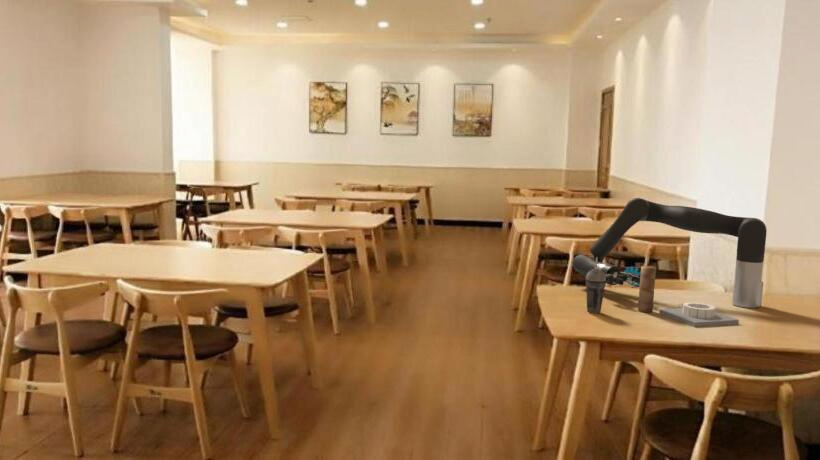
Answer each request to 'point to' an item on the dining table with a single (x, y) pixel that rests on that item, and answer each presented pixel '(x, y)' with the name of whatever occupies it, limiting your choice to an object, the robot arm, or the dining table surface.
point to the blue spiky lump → (632, 272)
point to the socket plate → (699, 320)
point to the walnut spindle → (646, 289)
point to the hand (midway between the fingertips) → (632, 281)
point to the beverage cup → (595, 289)
